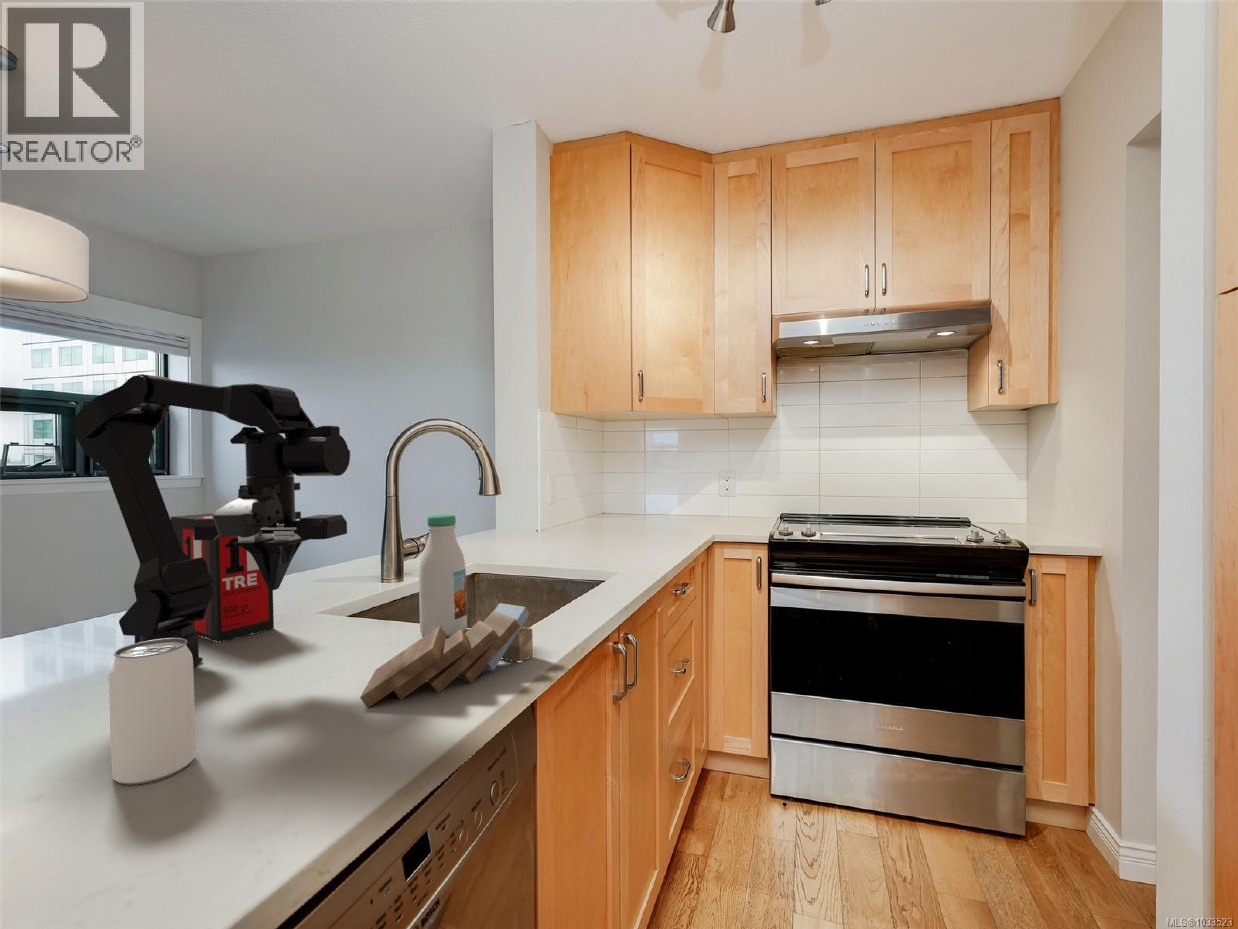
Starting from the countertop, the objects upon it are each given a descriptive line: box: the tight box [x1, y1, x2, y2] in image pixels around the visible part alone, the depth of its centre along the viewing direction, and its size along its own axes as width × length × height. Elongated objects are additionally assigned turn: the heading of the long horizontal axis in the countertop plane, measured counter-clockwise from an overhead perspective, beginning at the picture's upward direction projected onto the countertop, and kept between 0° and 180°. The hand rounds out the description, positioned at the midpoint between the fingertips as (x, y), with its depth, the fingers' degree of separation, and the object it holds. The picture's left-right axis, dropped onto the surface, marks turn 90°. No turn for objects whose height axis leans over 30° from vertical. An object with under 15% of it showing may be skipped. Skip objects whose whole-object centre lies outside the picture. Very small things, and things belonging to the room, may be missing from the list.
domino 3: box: [427, 620, 500, 694], centre depth 79 cm, size 2×5×10 cm
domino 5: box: [483, 602, 530, 672], centre depth 86 cm, size 2×5×10 cm
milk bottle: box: [418, 514, 468, 638], centre depth 101 cm, size 8×8×20 cm
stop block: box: [502, 626, 534, 662], centre depth 89 cm, size 3×6×4 cm, turn 60°
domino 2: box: [393, 629, 470, 700], centre depth 77 cm, size 2×5×10 cm
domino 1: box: [359, 626, 447, 709], centre depth 77 cm, size 2×10×10 cm
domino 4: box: [457, 610, 520, 684], centre depth 83 cm, size 2×5×10 cm
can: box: [108, 638, 196, 786], centre depth 58 cm, size 6×6×12 cm
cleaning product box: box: [170, 512, 275, 643], centre depth 105 cm, size 16×9×20 cm, turn 58°
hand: (273, 589), depth 82 cm, fingers closed
